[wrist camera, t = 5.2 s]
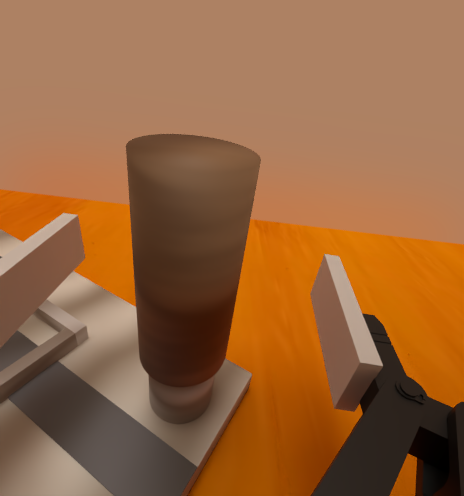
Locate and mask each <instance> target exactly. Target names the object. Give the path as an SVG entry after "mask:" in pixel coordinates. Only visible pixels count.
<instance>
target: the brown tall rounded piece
mask: <svg viewBox="0 0 464 496" xmlns="http://www.w3.org/2000/svg"><path fill="white" fill-rule="evenodd" d="M126 151H127V152H126V153H127V166H128V167H127V169H128V183H129V200H130V216H131V232H132V248H133V264H134V280H135V296H136V312H137V328H138V344H139V357H140V362H141V364H142V367H143V368H144V370H145V371H146V373H147V374H148V377H149V399H150V405H151V407H152V410H153V411H154V413H155V414H156V415H157V416H158V417H159V418H160V419H162V420H164V421H166V422H168V423H172V424H185V423H189V422H191V421H194V420H195V419H197V418H198V417H200V416H201V415H202V414H203V413H204V412H205V411H206V409H207V408H208V406H209V403H210V401H211V396H212V390H213V383H214V377H215V374H216V373H217V372H218V371H219V369H220V368H221V366H222V365H223V362H224V360H225V356H226V351H227V346H228V340H229V335H230V329H231V323H232V318H233V312H234V307H235V301H236V295H237V290H238V284H239V279H240V273H241V268H242V262H243V256H244V251H245V245H246V240H247V234H248V228H249V223H250V217H251V211H252V206H253V201H254V195H255V189H256V184H257V178H258V172H259V167H260V161H261V159H260V157H259V155H258V154H257V153H255V152H254V151H252V150H250V149H248V148H246V147H244V146H241V145H238V144H235V143H232V142H228V141H224V140H220V139H215V138H209V137H202V136H194V135H181V134H180V135H179V134H158V135H148V136H142V137H138V138H135V139H132V140H131V141H129V142H128V143H127V145H126Z"/></svg>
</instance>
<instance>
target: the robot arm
mask: <svg viewBox="0 0 464 496" xmlns="http://www.w3.org/2000/svg"><path fill="white" fill-rule="evenodd" d="M84 259H85V254H84V248H83V242H82V236H81V230H80V224H79V219H78V215H73V214H67V213H63V214H62V215H60V216H59V217H57V218H56V219H55V220H53V221H52V222H50V223H49V224H48V225H46V226H45V227H43V228H42V229H41V230H39V231H38V232H37V233H35V234H34V235H32V236H31V237H30V238H28V239H27V240H25V241H24V242H23V243H21V244H20V245H18V246H17V247H16V248H14V249H13V250H11V251H10V252H9V253H7V254H6V255H5V256H3V257H1V256H0V348H1V347H2V346H3V345H4V344H5V342H6V341H7V340H8V339H9V338H10V337H11V336H12V335H13V334H14V333H15V332H16V331H17V330H18V329H19V328H20V327H21V326H22V324H23V323H24V322H25V321H26V320H27V319H28V318H29V317H30V316H31V315H32V314H33V313H34V312H35V311H36V310H37V309H38V308H39V306H40V305H41V304H42V303H43V302H44V301H45V300H46V299H47V298H48V297H49V296H50V295H51V294H52V293H53V292H54V291H55V290H56V289H57V287H58V286H59V285H60V284H61V283H62V282H63V281H64V280H65V279H66V278H67V277H68V276H69V275H70V274H71V273H72V272H73V271H74V269H75V268H76V267H77V266H78V265H79V264H80V263H81V262H82V261H83V260H84ZM311 299H312V304H313V309H314V314H315V319H316V323H317V328H318V333H319V338H320V343H321V347H322V352H323V357H324V362H325V367H326V372H327V376H328V381H329V386H330V391H331V396H332V400H333V405H334V408H335V409H341V410H347V411H353V412H354V411H355V410H356V408H357V407H358V405H359V403H360V405H361V408H362V412H363V415H362V416H361V418H360V419H359V421H358V422H357V424H356V425H355V427H354V428H353V430H352V432H351V433H350V435H349V437H348V438H347V440H346V441H345V443H344V444H343V446H342V447H341V449H340V451H339V452H338V454H337V455H336V457H335V458H334V460H333V462H332V463H331V465H330V466H329V468H328V469H327V471H326V472H325V474H324V476H323V477H322V479H321V480H320V482H319V483H318V485H317V487H316V488H315V490H314V491H313V493H312V494H311V496H389V495H390V493H391V491H392V488H393V486H394V484H395V481H396V479H397V477H398V474H399V472H400V470H401V468H402V465H403V463H404V461H405V458H406V456H407V454H408V453H409V454H411V455H413V456H415V457H417V472H416V493H415V496H464V402H460V403H459V404H457V405H456V406H455V407H454V408H452V407H450V406H448V405H445V404H443V403H441V402H438V401H436V400H434V399H432V398H430V397H428V396H427V394H426V392H425V391H424V390H423V388H422V387H421V386H420V385H419V384H418V383H417V382H416V381H414V380H413V379H411V378H409V377H408V376H407V375H406V373H405V371H404V369H403V367H402V365H401V363H400V361H399V358H398V356H397V354H396V352H395V350H394V348H393V345H391V341H390V339H389V337H387V333H386V330H385V328H384V326H383V324H382V323H381V322H380V321H379V320H378V319H377V318H376V317H375V316H374V315H368V314H362V312H361V310H360V307H359V305H358V302H357V300H356V297H355V295H354V292H353V290H352V287H351V285H350V282H349V280H348V277H347V275H346V272H345V270H344V267H343V265H342V262H341V260H340V257H339V256H334V255H327V254H324V257H323V260H322V263H321V265H320V268H319V271H318V274H317V277H316V280H315V282H314V285H313V288H312V291H311Z"/></svg>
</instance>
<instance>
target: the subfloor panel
mask: <svg viewBox="0 0 464 496" xmlns="http://www.w3.org/2000/svg"><path fill="white" fill-rule="evenodd" d="M21 243H23V242H22V241H20V240H18V239H16V238H15V237H13V236H11V235H9V234H8V233H6V232H4V231H2V230H1V229H0V256H1V257H3V256H5V255H6V254H7V253H9V252H10V251H11V250H13V249H14V248H16V247H17V246H18V245H20V244H21ZM251 377H252V374H251V373H250V372H248V371H246V370H244V369H243V368H241V367H239V366H237V365H236V364H234V363H232V362H231V361H229V360H227V359H225V360H224V362H223V365H222V366H221V368H220V369H219V371H218V372H217V373H216V374H215V377H214V383H213V390H212V396H211V401H210V403H209V406H208V408H207V409H206V411H205V412H204V413H203V414H202V415H201V416H200V417H198V418H197V419H195V420H194V421H191V422H189V423H185V424H172V423H168V422H166V421H164V420H162V419H160V418H159V417H158V416H157V415H156V414H155V413H154V411H153V410H152V407H151V405H150V399H149V377H148V374H147V373H146V371H145V370H144V368H143V367H142V364H141V362H140V357H139V344H138V328H137V312H136V307H135V306H133V305H131V304H130V303H128V302H126V301H124V300H123V299H121V298H119V297H117V296H116V295H114V294H112V293H110V292H109V291H107V290H105V289H103V288H102V287H100V286H98V285H96V284H95V283H93V282H91V281H89V280H88V279H86V278H84V277H82V276H81V275H79V274H77V273H76V272H74V271H73V272H72V273H71V274H70V275H69V276H68V277H67V278H66V279H65V280H64V281H63V282H62V283H61V284H60V285H59V286H58V287H57V289H56V290H55V291H54V292H53V293H52V294H51V295H50V296H49V297H48V298H47V299H46V300H45V301H44V302H43V303H42V304H41V305H40V306H39V308H38V309H37V310H36V311H35V312H34V313H33V314H32V315H31V316H30V317H29V318H28V319H27V320H26V321H25V322H24V323H23V324H22V326H21V327H20V328H19V329H18V330H17V331H16V332H15V333H14V334H13V335H12V336H11V337H10V338H9V339H8V340H7V341H6V342H5V344H4V345H3V346H2V347H1V348H0V496H187V495H188V493H189V491H190V490H191V488H192V486H193V484H194V483H195V481H196V479H197V477H198V476H199V474H200V472H201V470H202V469H203V467H204V465H205V463H206V462H207V460H208V458H209V456H210V455H211V453H212V451H213V449H214V448H215V446H216V444H217V442H218V441H219V439H220V437H221V435H222V434H223V432H224V430H225V428H226V427H227V425H228V423H229V421H230V420H231V418H232V416H233V414H234V413H235V411H236V409H237V407H238V406H239V404H240V402H241V400H242V399H243V397H244V395H245V393H246V392H247V390H248V388H249V385H250V381H251Z"/></svg>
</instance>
